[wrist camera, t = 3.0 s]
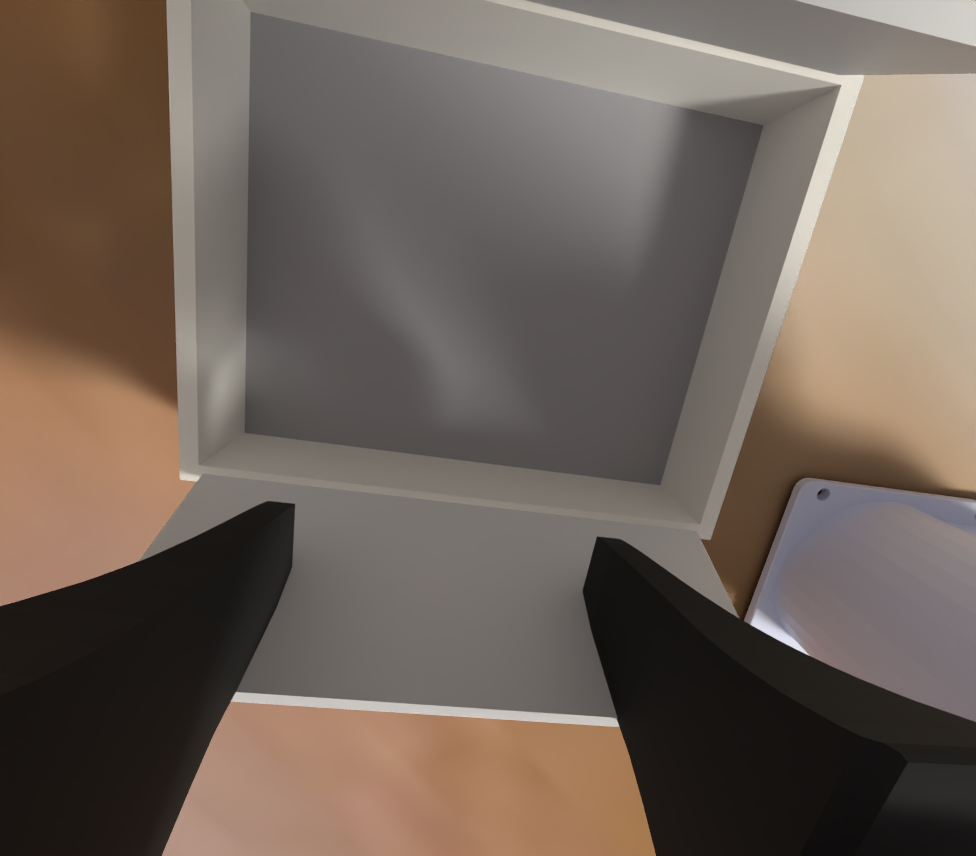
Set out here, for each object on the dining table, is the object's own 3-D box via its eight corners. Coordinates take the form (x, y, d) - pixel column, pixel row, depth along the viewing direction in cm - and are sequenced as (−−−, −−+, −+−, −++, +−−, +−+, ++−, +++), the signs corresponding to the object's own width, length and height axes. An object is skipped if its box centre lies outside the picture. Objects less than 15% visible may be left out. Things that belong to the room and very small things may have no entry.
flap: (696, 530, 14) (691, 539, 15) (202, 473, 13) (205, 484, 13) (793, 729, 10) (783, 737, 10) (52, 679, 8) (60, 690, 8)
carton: (773, 115, 15) (868, 65, 11) (663, 493, 18) (710, 539, 15) (239, -4, 13) (163, -106, 9) (235, 440, 16) (179, 479, 13)
